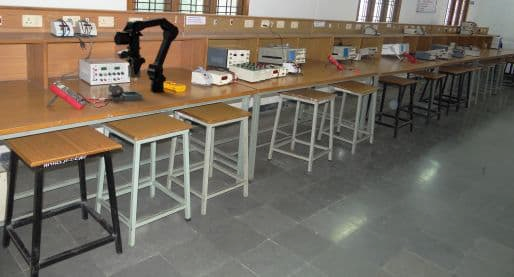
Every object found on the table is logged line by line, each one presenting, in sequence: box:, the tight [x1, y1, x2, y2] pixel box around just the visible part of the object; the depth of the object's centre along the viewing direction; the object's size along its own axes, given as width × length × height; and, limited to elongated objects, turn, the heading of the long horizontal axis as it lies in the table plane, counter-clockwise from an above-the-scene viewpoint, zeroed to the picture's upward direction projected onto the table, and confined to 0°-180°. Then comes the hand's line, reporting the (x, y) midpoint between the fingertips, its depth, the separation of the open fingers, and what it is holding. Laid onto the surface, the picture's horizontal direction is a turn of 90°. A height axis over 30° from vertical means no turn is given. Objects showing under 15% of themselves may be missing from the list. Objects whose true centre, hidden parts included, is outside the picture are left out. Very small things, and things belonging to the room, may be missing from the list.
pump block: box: [127, 64, 141, 79], centre depth 226 cm, size 5×5×8 cm
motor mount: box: [107, 83, 143, 102], centre depth 219 cm, size 15×10×8 cm, turn 125°
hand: (134, 74), depth 227 cm, fingers closed on pump block, 5 cm apart
